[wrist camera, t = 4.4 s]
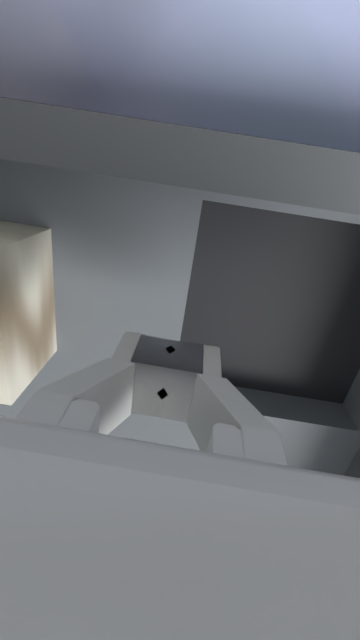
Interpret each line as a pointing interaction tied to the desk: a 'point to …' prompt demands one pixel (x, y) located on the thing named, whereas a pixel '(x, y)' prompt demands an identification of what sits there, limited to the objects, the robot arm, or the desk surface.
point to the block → (25, 306)
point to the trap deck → (199, 262)
